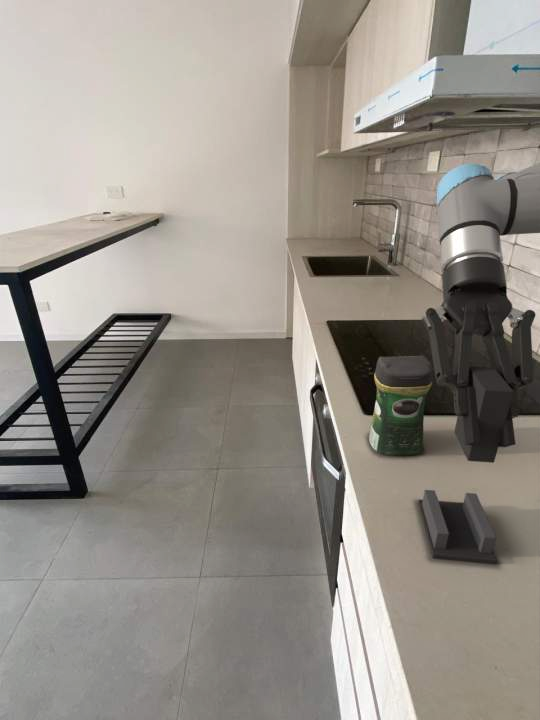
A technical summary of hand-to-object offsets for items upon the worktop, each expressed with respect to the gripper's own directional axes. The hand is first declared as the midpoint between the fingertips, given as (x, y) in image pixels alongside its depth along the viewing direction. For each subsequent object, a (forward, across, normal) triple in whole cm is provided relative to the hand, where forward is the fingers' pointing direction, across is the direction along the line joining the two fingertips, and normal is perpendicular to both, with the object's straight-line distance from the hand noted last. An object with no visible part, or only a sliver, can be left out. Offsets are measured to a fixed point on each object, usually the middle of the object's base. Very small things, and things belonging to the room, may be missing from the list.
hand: (489, 444), depth 46 cm
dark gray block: (0, 0, -5) cm, 5 cm away
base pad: (+11, 0, -16) cm, 19 cm away
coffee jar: (-3, +5, -30) cm, 31 cm away
